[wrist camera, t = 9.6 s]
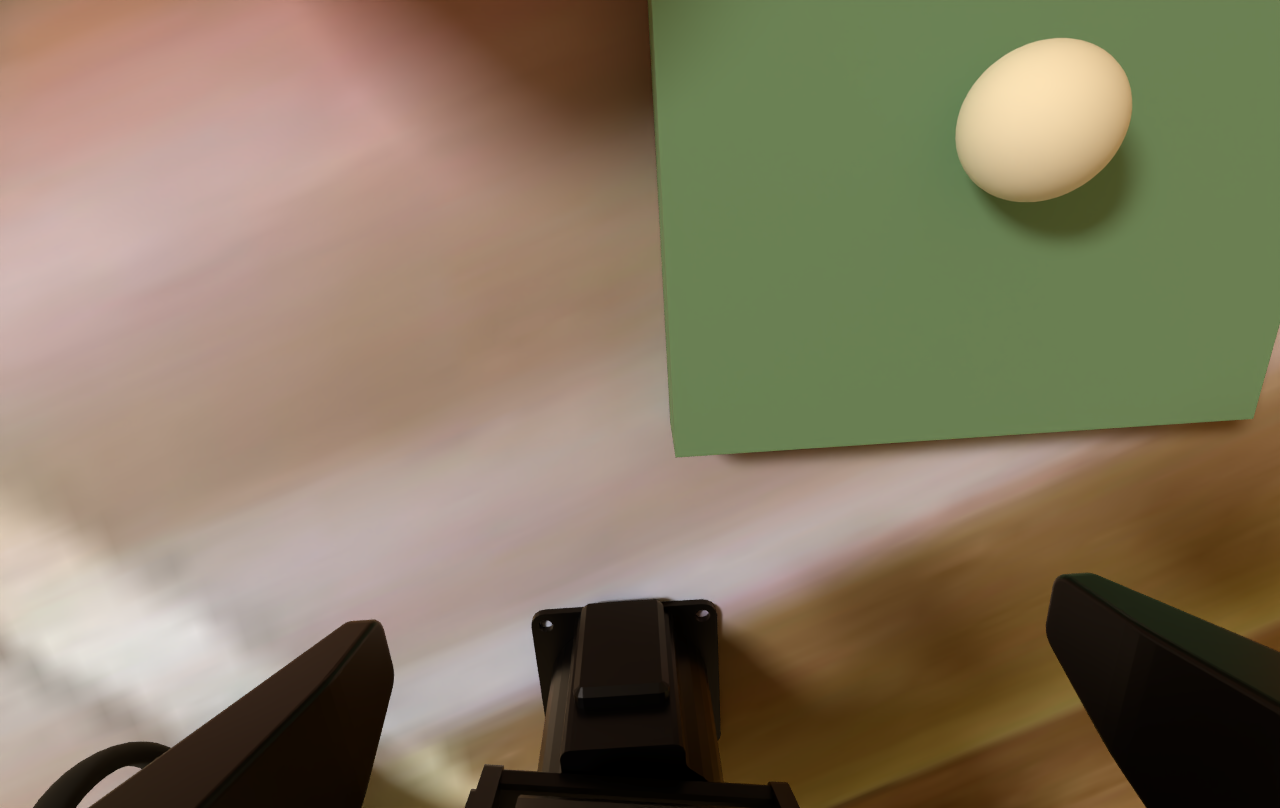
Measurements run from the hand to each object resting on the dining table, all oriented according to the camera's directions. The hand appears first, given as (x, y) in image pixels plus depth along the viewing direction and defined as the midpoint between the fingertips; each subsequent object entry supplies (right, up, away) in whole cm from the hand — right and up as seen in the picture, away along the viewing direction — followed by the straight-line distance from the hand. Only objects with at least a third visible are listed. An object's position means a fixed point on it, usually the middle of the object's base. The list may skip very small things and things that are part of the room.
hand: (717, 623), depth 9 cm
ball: (+7, +9, +5) cm, 13 cm away
